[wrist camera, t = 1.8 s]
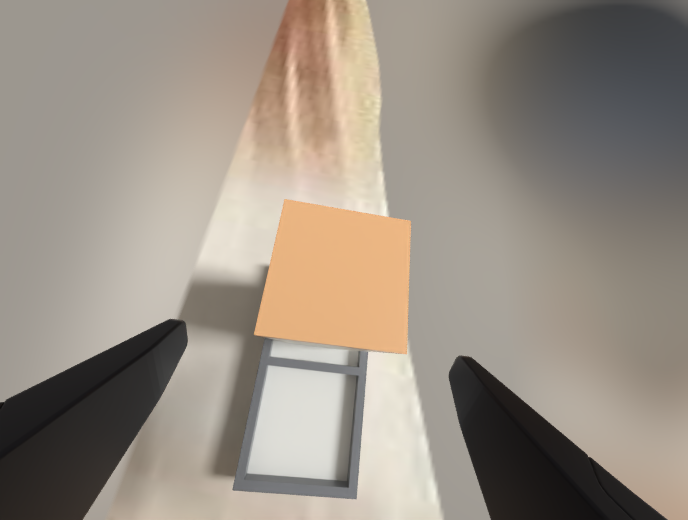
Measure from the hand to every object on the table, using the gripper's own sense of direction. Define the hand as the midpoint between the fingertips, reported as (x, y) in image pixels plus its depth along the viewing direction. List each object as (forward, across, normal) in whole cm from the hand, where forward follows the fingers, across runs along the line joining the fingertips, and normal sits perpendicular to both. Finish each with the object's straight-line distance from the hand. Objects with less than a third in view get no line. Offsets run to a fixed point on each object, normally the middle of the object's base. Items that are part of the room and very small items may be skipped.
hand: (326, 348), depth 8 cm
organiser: (+7, 0, +8) cm, 11 cm away
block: (+8, 0, +6) cm, 10 cm away
